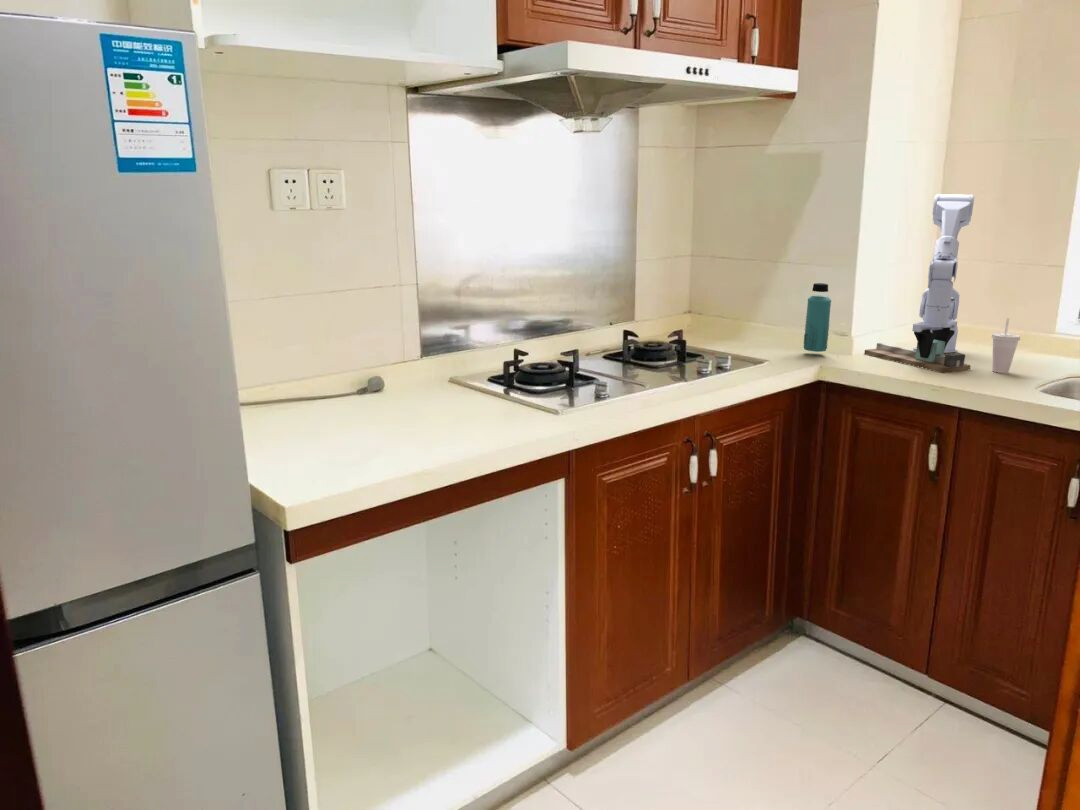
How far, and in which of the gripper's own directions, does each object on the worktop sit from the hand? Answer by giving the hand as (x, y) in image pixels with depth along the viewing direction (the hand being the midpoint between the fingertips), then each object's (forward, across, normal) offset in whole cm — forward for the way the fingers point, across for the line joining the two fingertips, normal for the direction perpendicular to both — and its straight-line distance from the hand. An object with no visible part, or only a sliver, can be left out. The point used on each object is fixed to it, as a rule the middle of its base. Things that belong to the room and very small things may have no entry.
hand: (930, 356), depth 219 cm
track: (+2, 0, +5) cm, 5 cm away
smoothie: (+2, +10, -13) cm, 17 cm away
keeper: (+1, 0, +1) cm, 1 cm away
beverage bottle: (+2, -19, +23) cm, 30 cm away
